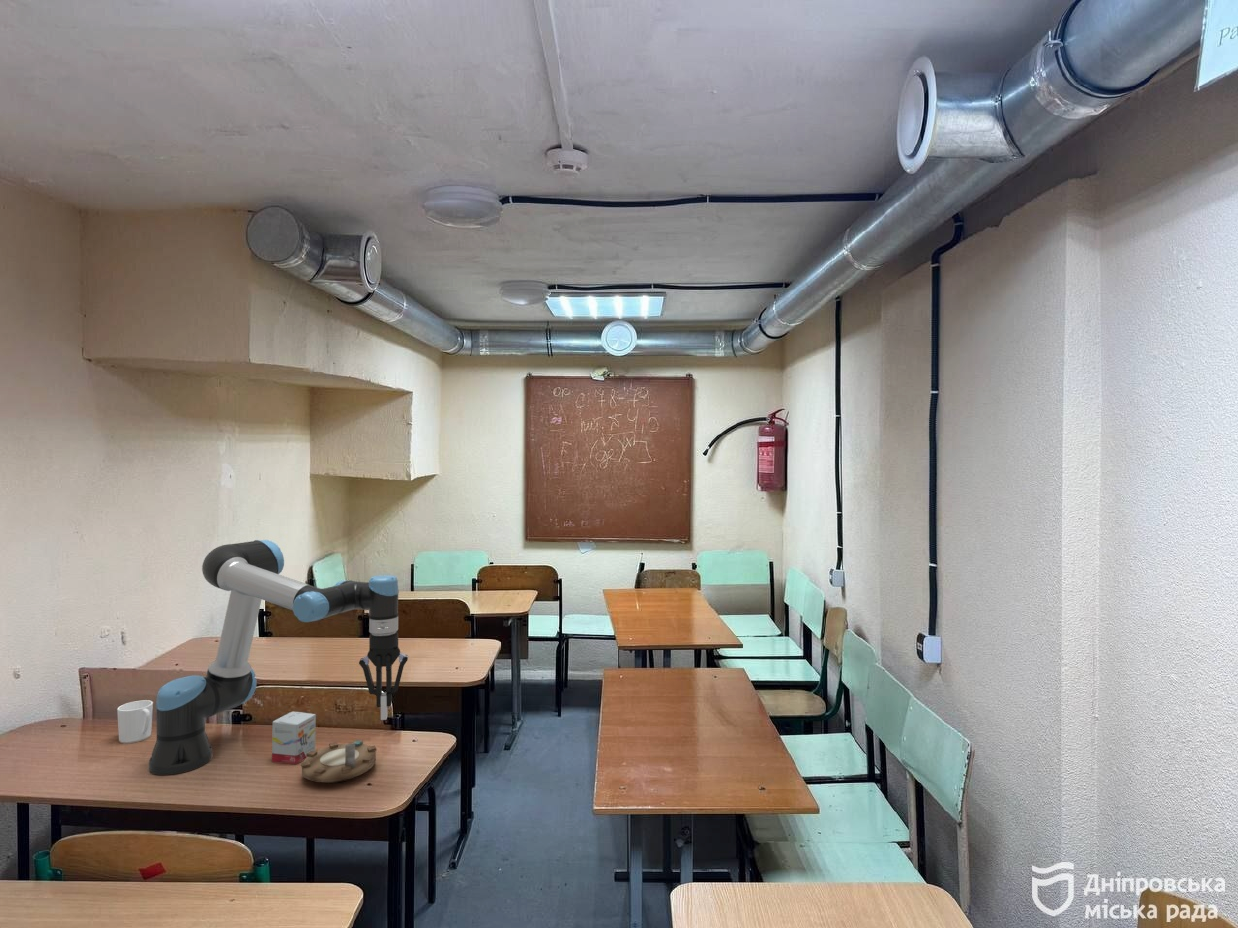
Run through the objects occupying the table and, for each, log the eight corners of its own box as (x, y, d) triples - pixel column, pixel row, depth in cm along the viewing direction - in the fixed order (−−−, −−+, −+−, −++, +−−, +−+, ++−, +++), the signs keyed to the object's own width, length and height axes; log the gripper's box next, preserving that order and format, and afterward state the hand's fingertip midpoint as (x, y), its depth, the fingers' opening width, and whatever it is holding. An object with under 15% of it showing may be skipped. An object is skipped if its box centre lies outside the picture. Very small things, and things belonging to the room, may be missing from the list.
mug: (110, 741, 199) (110, 708, 199) (141, 730, 208) (141, 698, 208) (133, 747, 195) (133, 713, 195) (163, 736, 203) (163, 703, 203)
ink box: (296, 764, 185) (296, 723, 185) (270, 761, 187) (271, 721, 187) (316, 751, 193) (316, 712, 193) (291, 748, 195) (291, 709, 195)
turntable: (285, 778, 173) (285, 748, 173) (330, 746, 192) (330, 720, 192) (350, 785, 169) (350, 755, 169) (389, 752, 188) (389, 725, 188)
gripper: (356, 637, 172) (356, 725, 172) (407, 634, 175) (407, 720, 175) (360, 630, 179) (360, 715, 179) (409, 627, 182) (409, 710, 183)
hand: (384, 717), depth 177 cm, fingers closed
